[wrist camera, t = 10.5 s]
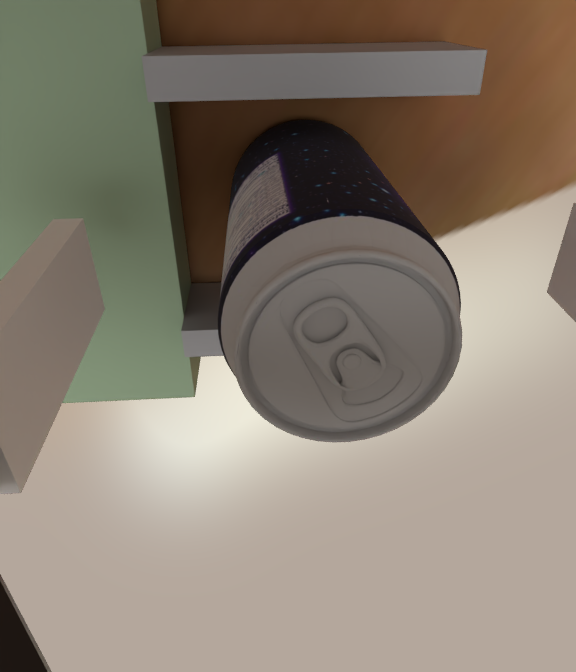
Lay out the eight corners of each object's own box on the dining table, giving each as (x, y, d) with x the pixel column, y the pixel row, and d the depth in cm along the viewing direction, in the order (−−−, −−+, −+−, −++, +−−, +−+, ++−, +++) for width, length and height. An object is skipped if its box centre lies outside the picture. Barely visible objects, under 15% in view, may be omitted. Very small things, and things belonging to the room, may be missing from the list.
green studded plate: (-243, -50, 16) (-372, -64, 13) (457, -57, 17) (507, -72, 14) (-55, 368, 25) (-102, 426, 21) (404, 348, 26) (427, 400, 22)
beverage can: (283, 277, 23) (307, 488, 13) (202, 171, 21) (157, 334, 10) (395, 206, 22) (520, 381, 12) (325, 82, 19) (408, 171, 9)
